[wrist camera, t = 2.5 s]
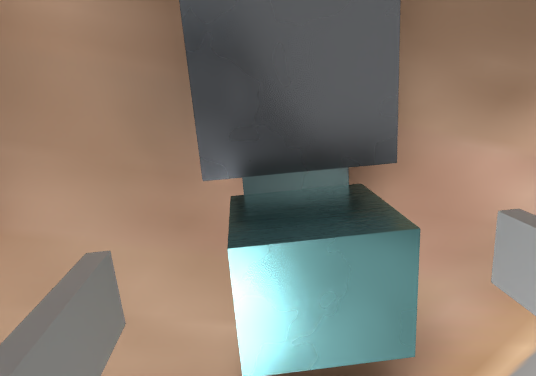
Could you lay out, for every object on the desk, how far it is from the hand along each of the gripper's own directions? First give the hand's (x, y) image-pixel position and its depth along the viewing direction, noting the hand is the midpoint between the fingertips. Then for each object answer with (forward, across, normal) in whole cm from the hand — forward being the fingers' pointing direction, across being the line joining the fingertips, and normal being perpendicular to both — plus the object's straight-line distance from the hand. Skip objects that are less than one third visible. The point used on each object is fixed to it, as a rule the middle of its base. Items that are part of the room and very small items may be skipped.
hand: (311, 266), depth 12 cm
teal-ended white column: (+6, 0, +5) cm, 8 cm away
